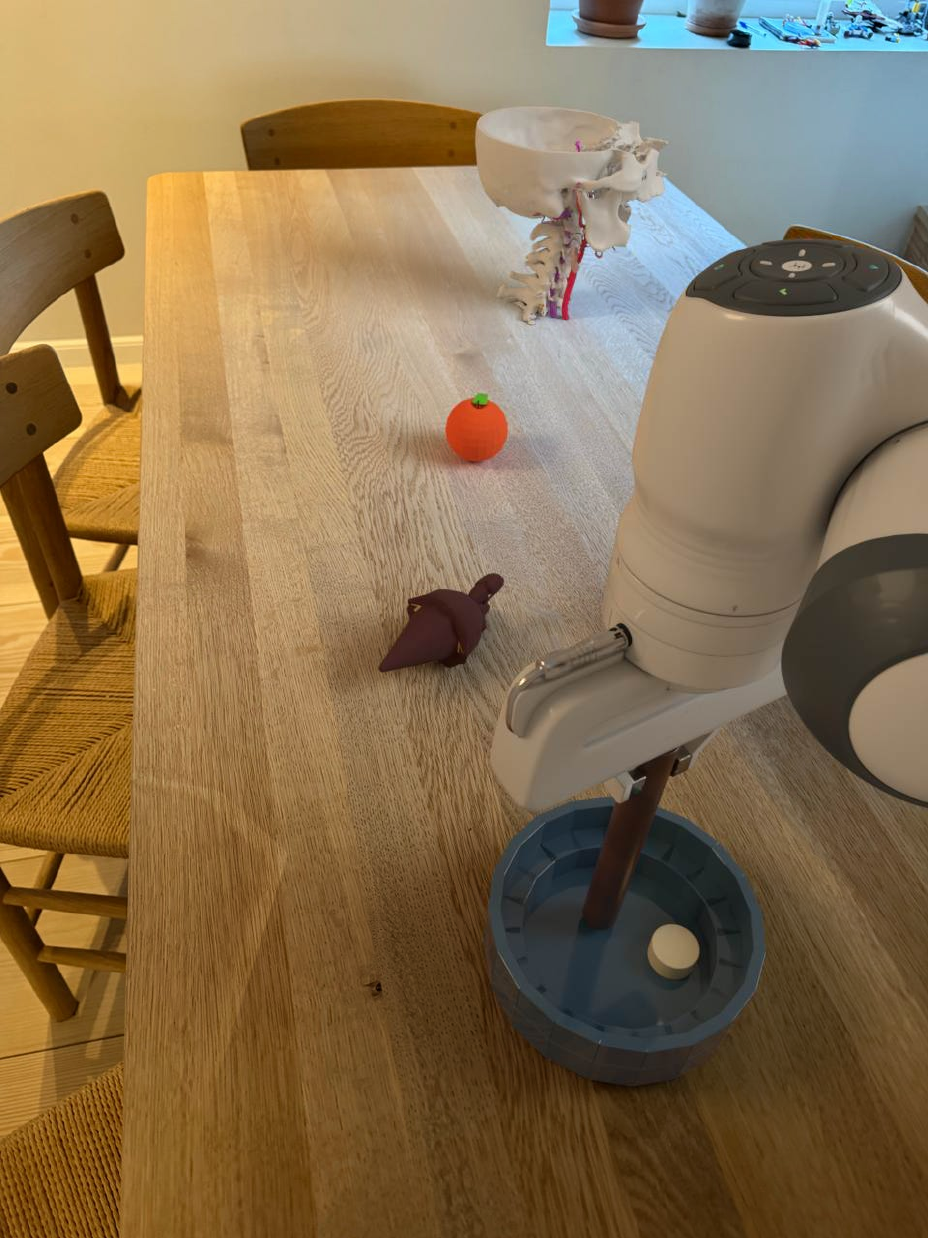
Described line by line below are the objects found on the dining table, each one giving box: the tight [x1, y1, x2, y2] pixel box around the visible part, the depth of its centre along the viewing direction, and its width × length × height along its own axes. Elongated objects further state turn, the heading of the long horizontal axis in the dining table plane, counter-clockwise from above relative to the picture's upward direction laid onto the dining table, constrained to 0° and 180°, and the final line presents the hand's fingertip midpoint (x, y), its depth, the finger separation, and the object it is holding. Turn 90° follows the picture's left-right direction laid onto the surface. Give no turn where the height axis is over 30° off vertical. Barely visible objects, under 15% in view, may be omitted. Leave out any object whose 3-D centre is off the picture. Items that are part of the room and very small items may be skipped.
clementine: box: [444, 392, 509, 462], centre depth 106 cm, size 8×7×7 cm
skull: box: [474, 105, 669, 325], centre depth 129 cm, size 25×19×23 cm
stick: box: [582, 746, 680, 930], centre depth 59 cm, size 2×2×20 cm
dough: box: [648, 924, 700, 979], centre depth 64 cm, size 3×3×2 cm
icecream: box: [377, 572, 505, 673], centre depth 83 cm, size 7×7×15 cm
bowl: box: [482, 796, 767, 1087], centre depth 63 cm, size 18×18×6 cm
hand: (647, 777), depth 54 cm, fingers closed on stick, 2 cm apart
